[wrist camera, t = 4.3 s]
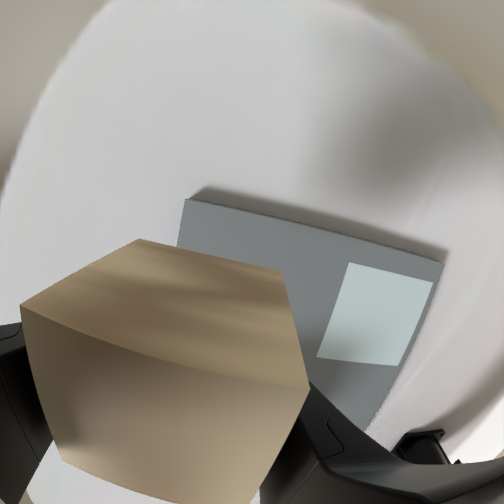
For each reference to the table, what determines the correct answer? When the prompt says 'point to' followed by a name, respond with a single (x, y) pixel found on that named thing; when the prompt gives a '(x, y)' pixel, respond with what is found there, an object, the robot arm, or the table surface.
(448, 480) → the robot arm
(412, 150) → the table surface
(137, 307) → the maple block
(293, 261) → the board
